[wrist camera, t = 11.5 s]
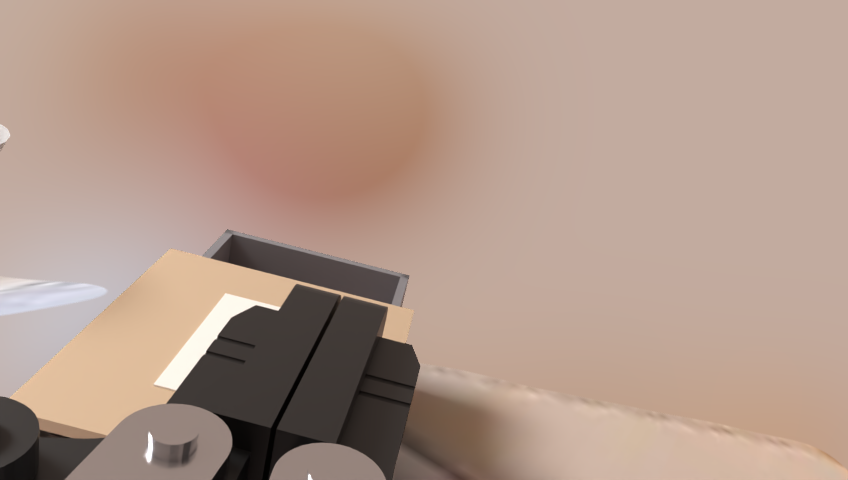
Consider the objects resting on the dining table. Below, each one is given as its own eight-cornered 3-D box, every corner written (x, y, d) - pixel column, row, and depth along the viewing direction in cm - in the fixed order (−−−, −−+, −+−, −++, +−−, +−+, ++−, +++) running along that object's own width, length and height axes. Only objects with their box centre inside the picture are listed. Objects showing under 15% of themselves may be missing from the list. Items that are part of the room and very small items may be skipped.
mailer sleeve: (320, 680, 37) (365, 499, 33) (-5, 595, 37) (-1, 405, 33) (379, 448, 54) (414, 309, 49) (154, 390, 54) (170, 247, 50)
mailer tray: (305, 652, 37) (337, 518, 34) (22, 579, 37) (27, 438, 34) (386, 369, 61) (409, 275, 58) (213, 325, 61) (227, 229, 58)
